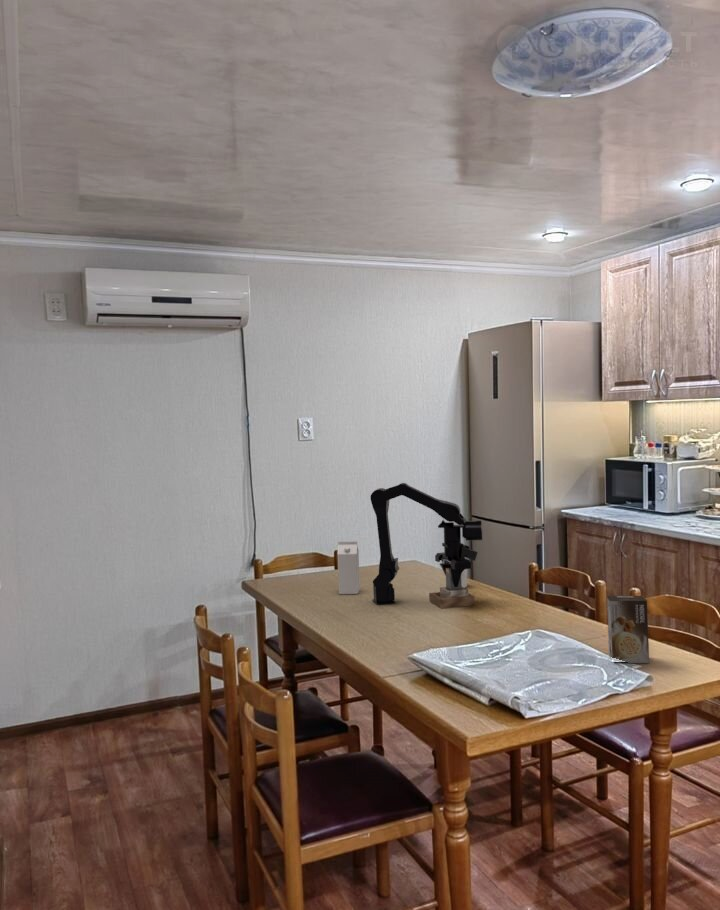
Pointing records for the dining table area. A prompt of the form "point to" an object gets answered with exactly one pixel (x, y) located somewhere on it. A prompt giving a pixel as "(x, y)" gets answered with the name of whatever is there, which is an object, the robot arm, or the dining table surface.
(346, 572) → the milk carton
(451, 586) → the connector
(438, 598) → the walled box
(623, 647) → the coffee box
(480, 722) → the dining table surface
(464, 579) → the white cup
